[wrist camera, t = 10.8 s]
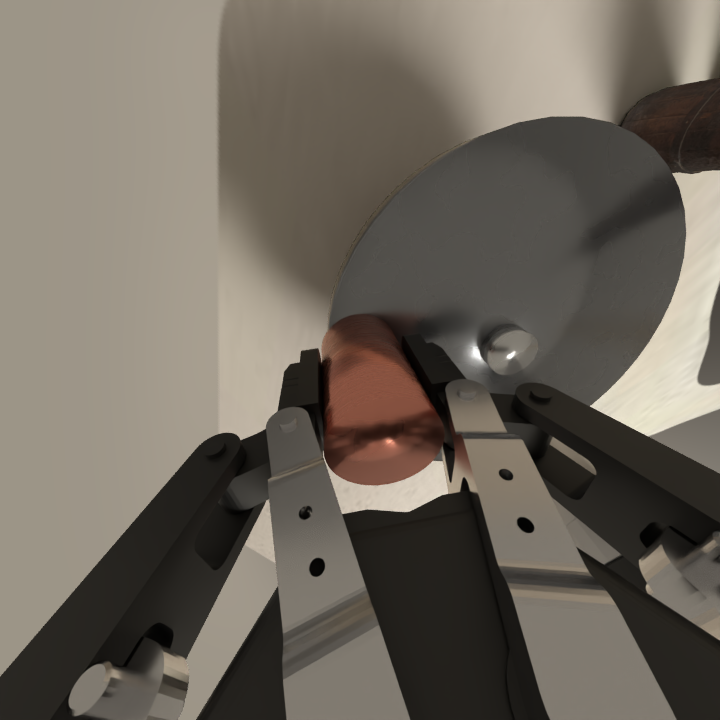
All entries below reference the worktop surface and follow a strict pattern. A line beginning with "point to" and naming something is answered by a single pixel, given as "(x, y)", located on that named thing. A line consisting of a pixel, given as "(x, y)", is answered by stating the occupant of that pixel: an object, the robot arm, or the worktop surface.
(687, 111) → the butter churn
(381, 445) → the grey disc with knob
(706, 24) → the worktop surface
